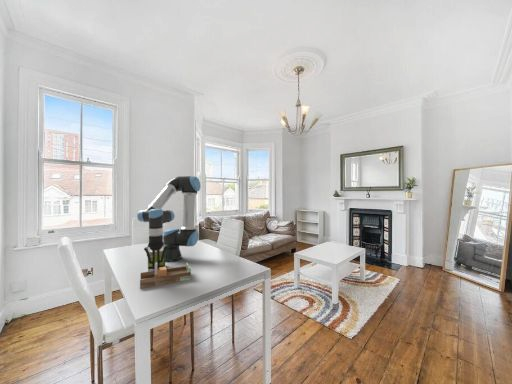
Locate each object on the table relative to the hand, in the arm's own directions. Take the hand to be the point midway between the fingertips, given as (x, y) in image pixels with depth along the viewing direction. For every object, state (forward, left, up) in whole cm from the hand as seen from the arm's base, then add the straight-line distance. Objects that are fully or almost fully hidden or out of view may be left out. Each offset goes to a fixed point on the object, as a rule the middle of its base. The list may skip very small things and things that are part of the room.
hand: (156, 274), depth 130 cm
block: (0, +3, -1) cm, 3 cm away
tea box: (-18, +1, -4) cm, 18 cm away
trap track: (+2, +5, -4) cm, 7 cm away
